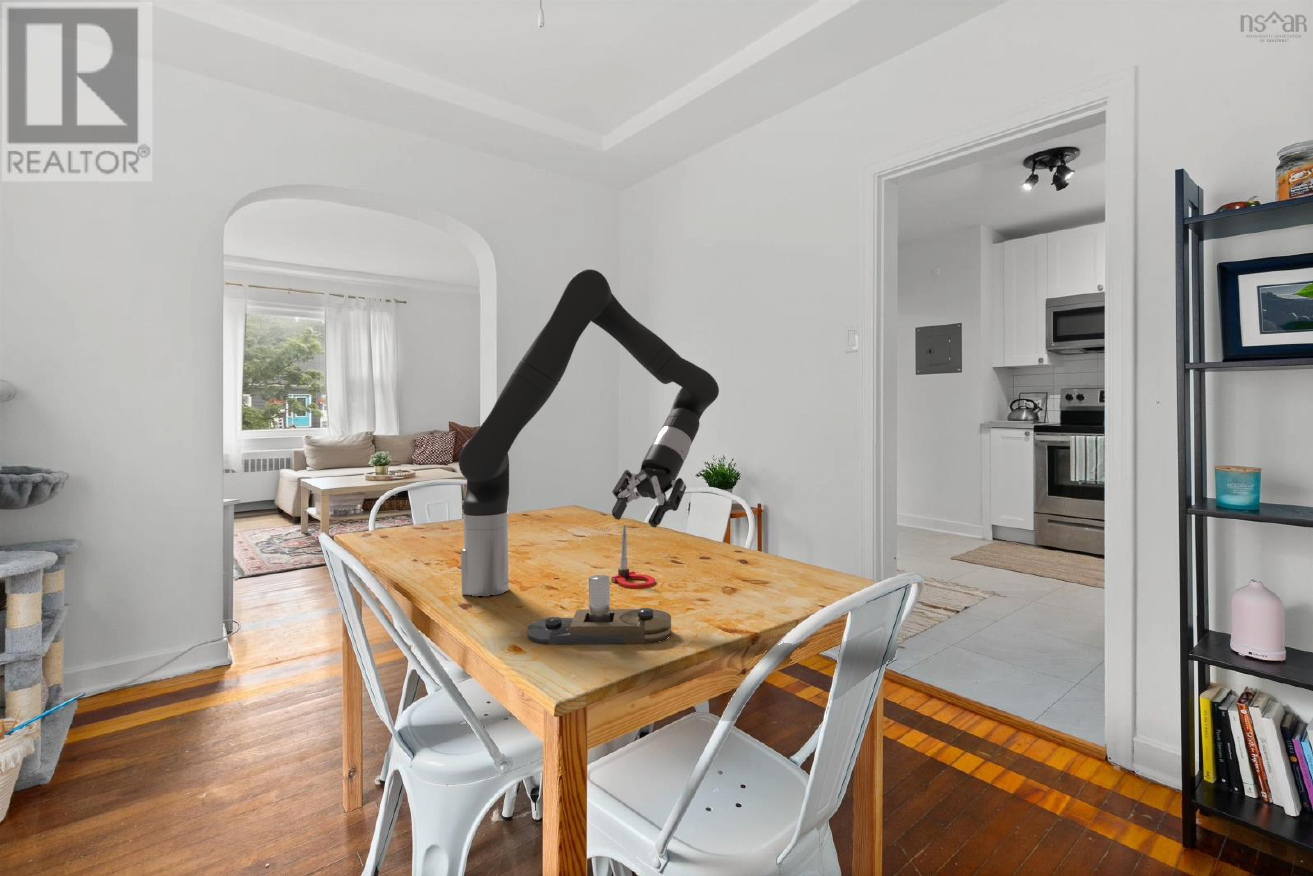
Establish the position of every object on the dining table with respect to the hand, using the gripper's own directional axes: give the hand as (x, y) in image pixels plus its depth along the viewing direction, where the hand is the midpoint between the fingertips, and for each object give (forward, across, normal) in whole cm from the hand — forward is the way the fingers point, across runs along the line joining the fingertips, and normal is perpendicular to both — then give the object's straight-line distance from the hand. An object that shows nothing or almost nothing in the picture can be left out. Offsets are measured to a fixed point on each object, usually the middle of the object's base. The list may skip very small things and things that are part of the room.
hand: (633, 521), depth 119 cm
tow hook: (+2, -11, +27) cm, 29 cm away
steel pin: (+21, +2, +3) cm, 22 cm away
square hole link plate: (+21, +2, +3) cm, 22 cm away
